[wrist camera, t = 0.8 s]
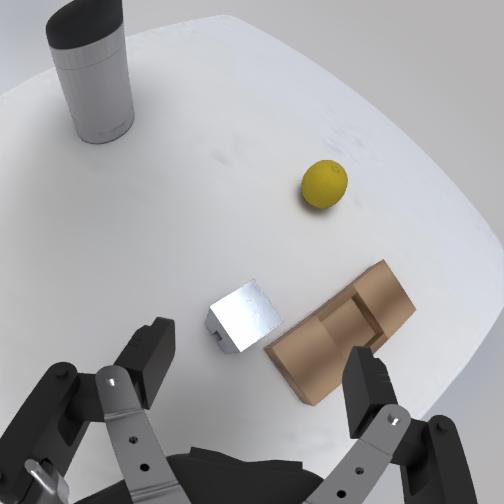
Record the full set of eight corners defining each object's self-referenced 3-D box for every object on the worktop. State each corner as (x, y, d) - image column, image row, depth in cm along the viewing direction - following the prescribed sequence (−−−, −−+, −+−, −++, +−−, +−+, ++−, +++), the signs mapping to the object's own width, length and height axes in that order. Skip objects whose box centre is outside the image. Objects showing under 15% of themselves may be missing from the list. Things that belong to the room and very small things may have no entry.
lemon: (332, 189, 43) (357, 157, 35) (329, 222, 41) (357, 193, 33) (296, 177, 42) (316, 142, 35) (291, 211, 40) (312, 178, 33)
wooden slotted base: (263, 348, 34) (271, 347, 30) (369, 267, 40) (383, 259, 36) (302, 402, 32) (313, 406, 29) (400, 314, 38) (416, 309, 35)
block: (204, 323, 33) (209, 306, 22) (233, 304, 35) (254, 278, 24) (224, 353, 33) (240, 352, 22) (253, 334, 34) (284, 321, 23)
